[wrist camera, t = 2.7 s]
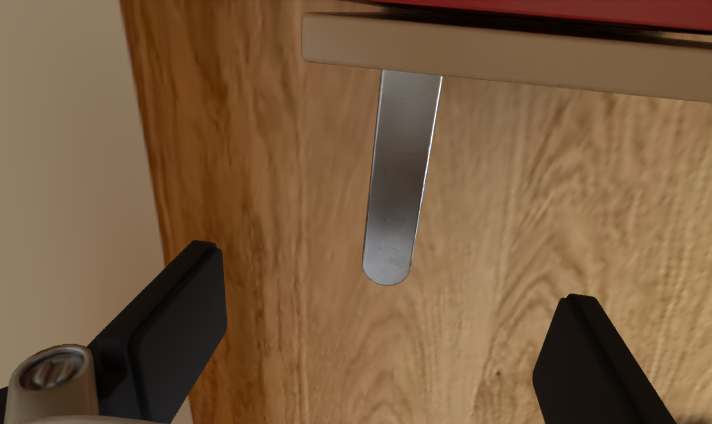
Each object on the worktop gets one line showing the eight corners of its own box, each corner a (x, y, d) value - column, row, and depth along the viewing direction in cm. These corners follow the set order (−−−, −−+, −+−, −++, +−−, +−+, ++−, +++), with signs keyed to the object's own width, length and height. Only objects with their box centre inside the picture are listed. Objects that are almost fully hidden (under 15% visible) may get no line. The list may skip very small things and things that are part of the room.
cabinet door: (615, 174, 23) (930, 430, 9) (366, 144, 24) (294, 330, 10) (668, 37, 20) (1283, 100, 6) (378, 11, 21) (300, 11, 7)
